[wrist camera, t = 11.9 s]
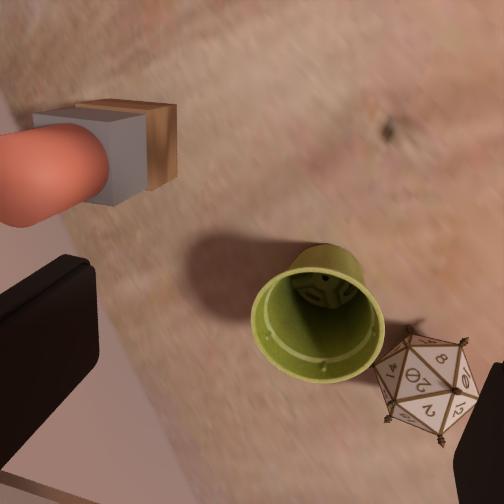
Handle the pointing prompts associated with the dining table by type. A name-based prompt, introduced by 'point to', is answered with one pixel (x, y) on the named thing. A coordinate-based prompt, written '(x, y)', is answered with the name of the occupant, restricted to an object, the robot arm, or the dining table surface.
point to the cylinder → (49, 172)
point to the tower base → (151, 135)
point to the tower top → (110, 147)
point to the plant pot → (318, 318)
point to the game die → (426, 383)
